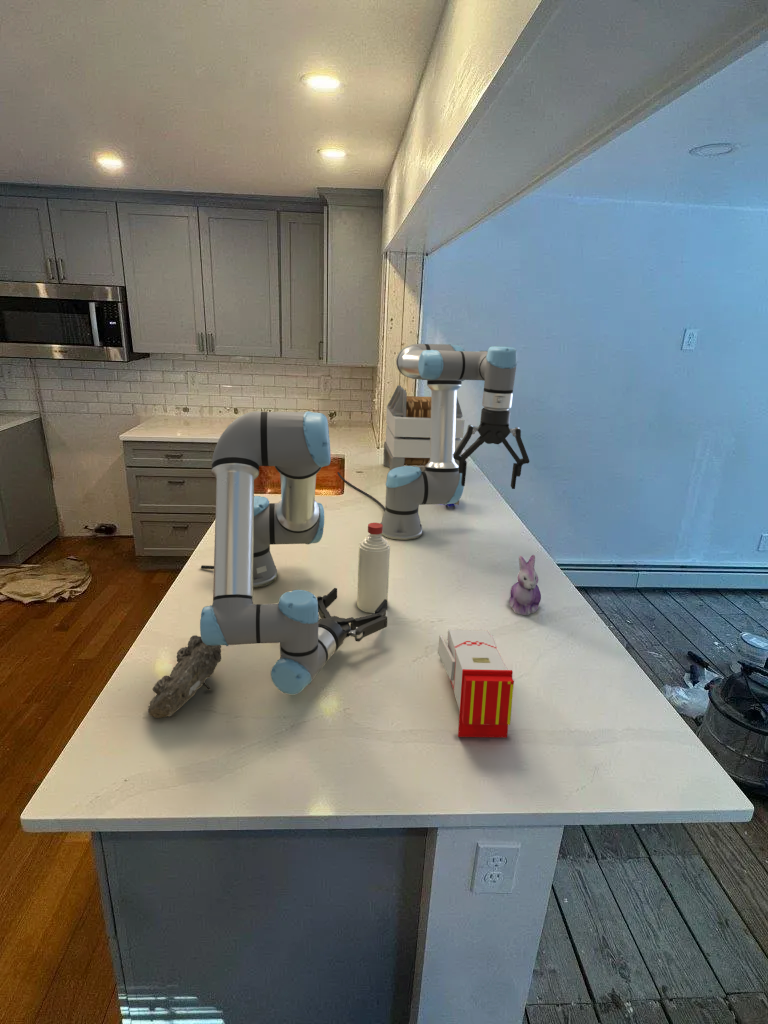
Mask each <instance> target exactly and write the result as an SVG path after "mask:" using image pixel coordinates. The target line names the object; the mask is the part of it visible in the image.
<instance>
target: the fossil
mask: <svg viewBox="0 0 768 1024" xmlns="http://www.w3.org/2000/svg"><path fill="white" fill-rule="evenodd" d="M175 657H176V662H177V663H176V664H175V666H173V669H172V670H171V671H170V673H169V675H164V676H162V677H161V679H158V680H157V682H156V683H154V686H153V687H152V691H153V692H154V694H155V696H154V697H153V698H152V699H151V700H150V701H149V705H148V706H147V708H148V709H147V711H148V715H149V717H153V718H154V719H161V718H167V717H171V716H173V715H174V714H175V713H176V712H177V711H178V710H180V709H181V708H182V707H183V706H184V705H185V704H186V703H187V702H188V701H189V700H191V698H192V697H194V696H195V694H196V693H197V690H199V689H200V688H201V687H202V686H203V687H205V688H206V690H208V691H210V690H211V687H210V686H209V685H208V684H207V683H206V680H207V679H209V678H211V677H212V675H213V674H214V673H215V670H216V668H217V666H218V664H219V663H220V662H221V661H222V645H206V644H205V643H203V641H202V639H201V636H199V635H197V634H195V635H192V636H190V638H189V640H188V643H187V646H184V647H180V649H178V650H177V652H176V656H175Z"/></svg>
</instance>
